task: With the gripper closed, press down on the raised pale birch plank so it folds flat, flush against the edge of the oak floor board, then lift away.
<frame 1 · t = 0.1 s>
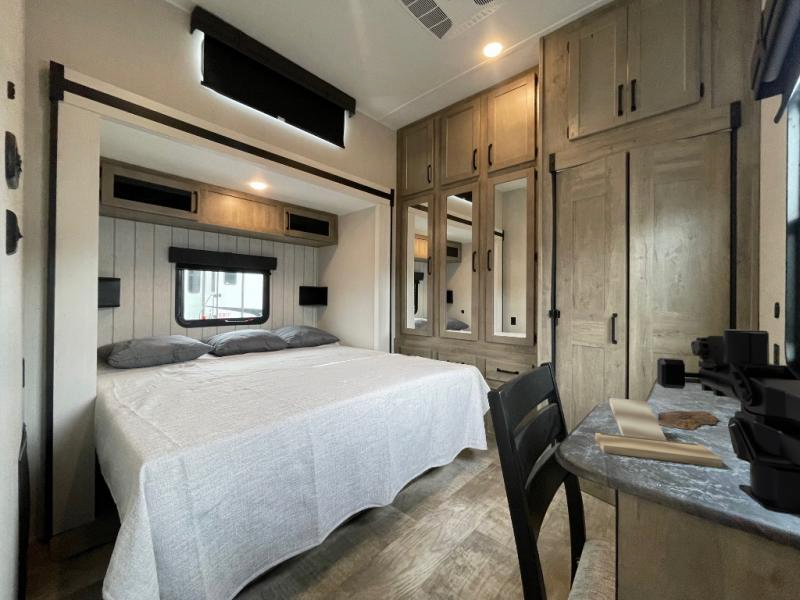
hand: (691, 368, 76), 17 cm above the table, tool horizontal, fingers open, 9 cm apart
oak floor board: (652, 452, 69), on the table
birch plank: (635, 419, 79), point 4 cm above the table, hinge at 25.0°
wooden fragment: (687, 420, 90), on the table
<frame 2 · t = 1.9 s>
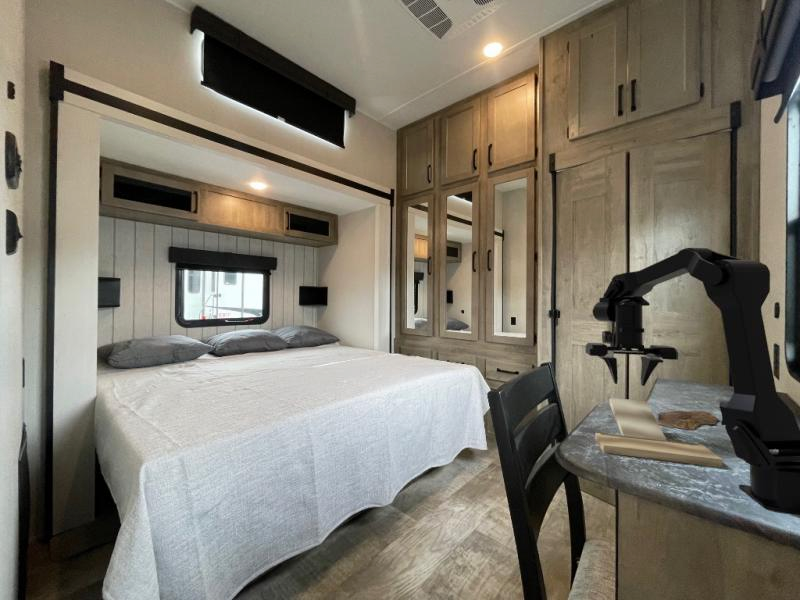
hand: (629, 384, 83), 11 cm above the table, tool pointing down, fingers open, 6 cm apart
nothing on the table moved.
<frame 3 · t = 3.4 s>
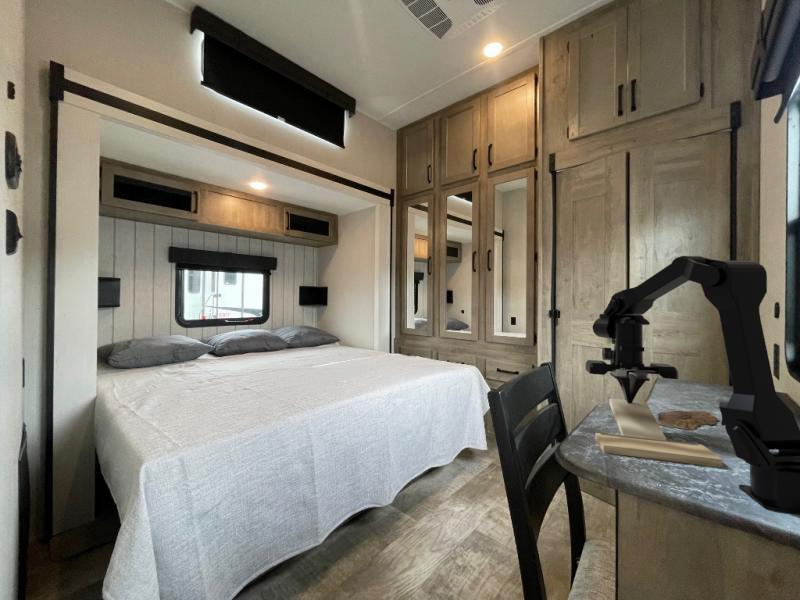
hand: (629, 402, 83), 6 cm above the table, tool pointing down, fingers closed, pressing on birch plank
birch plank: (635, 420, 79), point 3 cm above the table, hinge at 24.4°, touching gripper
everything else where it was.
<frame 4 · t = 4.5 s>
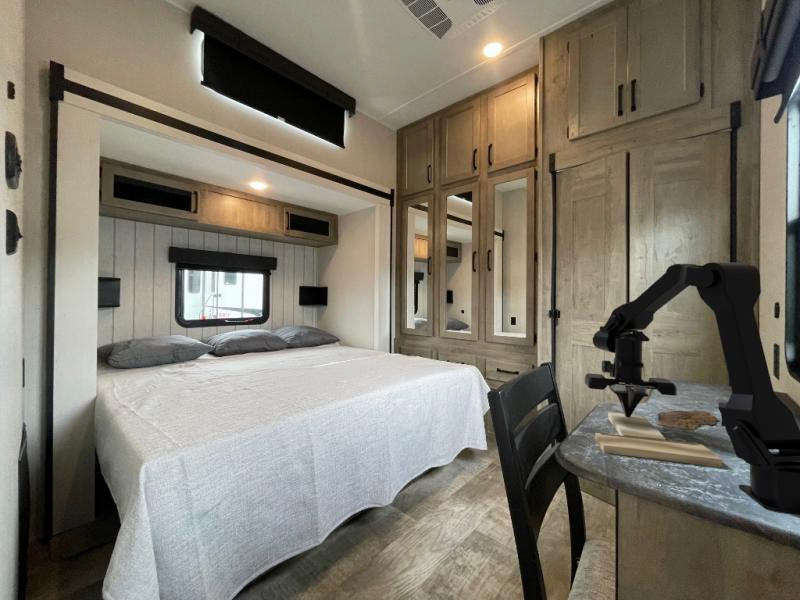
hand: (627, 416, 84), 3 cm above the table, tool pointing down, fingers closed, pressing on birch plank
birch plank: (634, 427, 80), point 1 cm above the table, hinge at 4.9°, touching gripper
everything else where it was.
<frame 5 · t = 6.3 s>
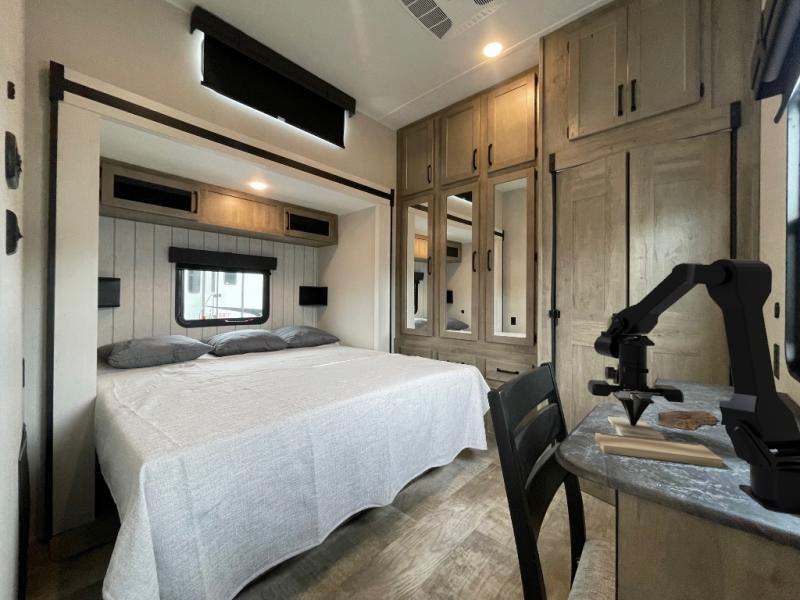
hand: (632, 425, 81), 2 cm above the table, tool pointing down, fingers closed
birch plank: (634, 429, 80), point 1 cm above the table, hinge at -0.1°
everything else where it was.
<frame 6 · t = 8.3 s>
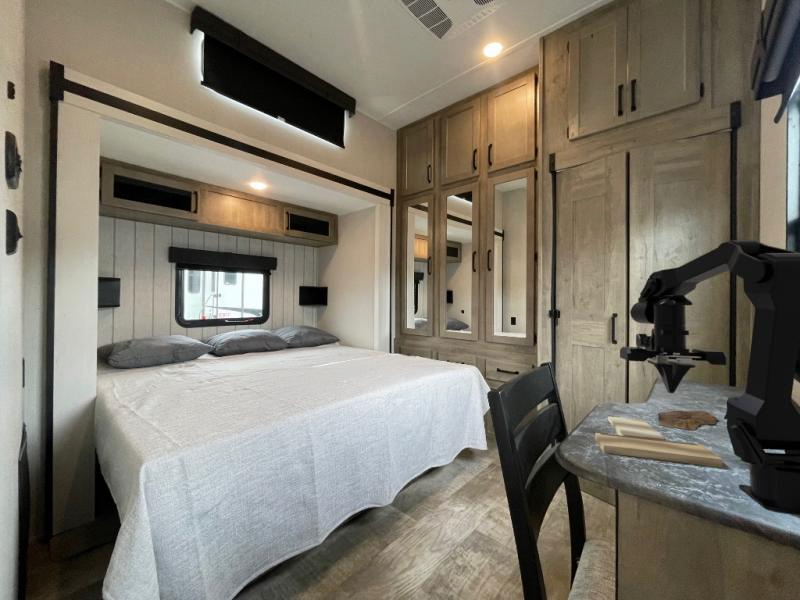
hand: (670, 392, 76), 11 cm above the table, tool pointing down, fingers closed
nothing on the table moved.
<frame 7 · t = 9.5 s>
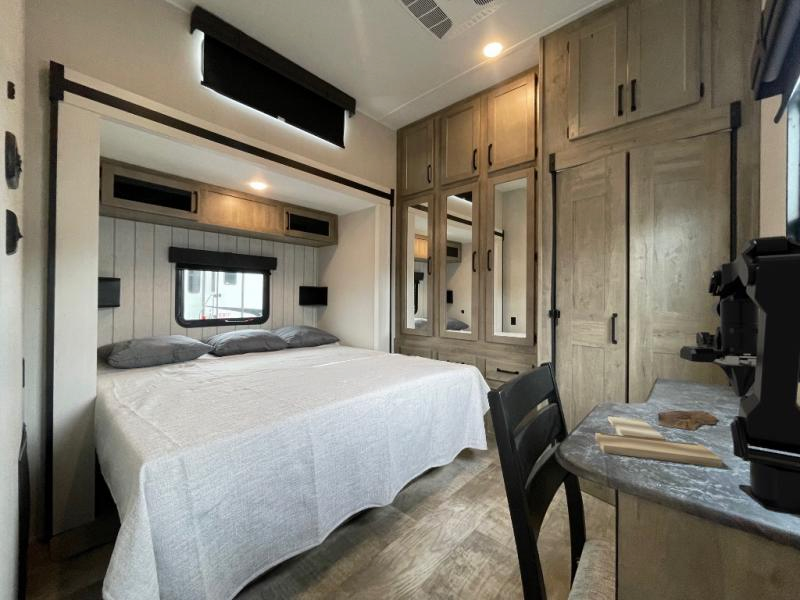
hand: (740, 396, 69), 12 cm above the table, tool pointing down, fingers closed
nothing on the table moved.
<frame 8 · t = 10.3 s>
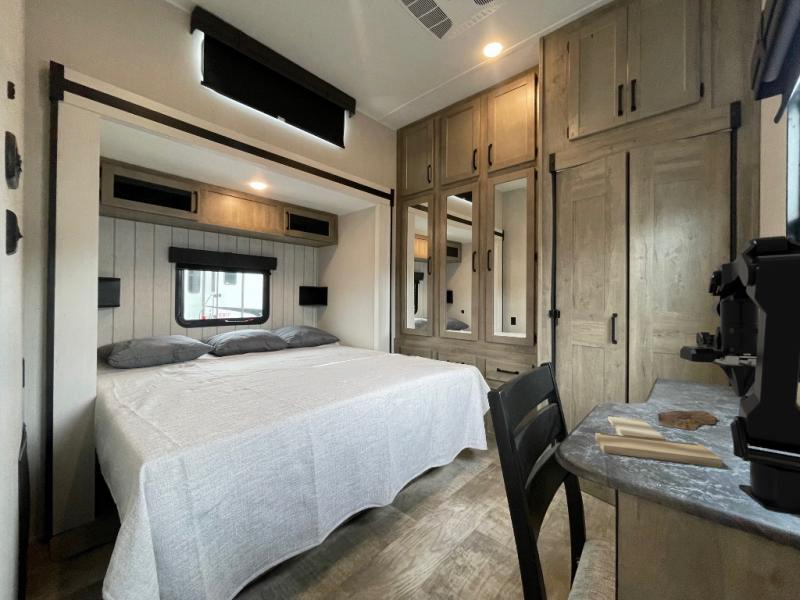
hand: (740, 396, 69), 12 cm above the table, tool pointing down, fingers closed
nothing on the table moved.
at the end: birch plank at +0° (first picture: +25°) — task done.
